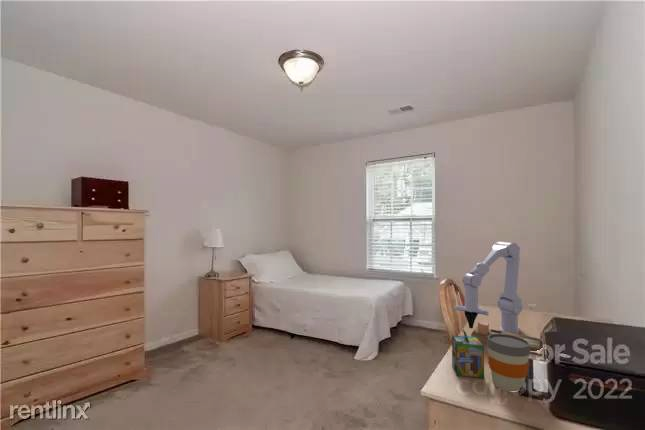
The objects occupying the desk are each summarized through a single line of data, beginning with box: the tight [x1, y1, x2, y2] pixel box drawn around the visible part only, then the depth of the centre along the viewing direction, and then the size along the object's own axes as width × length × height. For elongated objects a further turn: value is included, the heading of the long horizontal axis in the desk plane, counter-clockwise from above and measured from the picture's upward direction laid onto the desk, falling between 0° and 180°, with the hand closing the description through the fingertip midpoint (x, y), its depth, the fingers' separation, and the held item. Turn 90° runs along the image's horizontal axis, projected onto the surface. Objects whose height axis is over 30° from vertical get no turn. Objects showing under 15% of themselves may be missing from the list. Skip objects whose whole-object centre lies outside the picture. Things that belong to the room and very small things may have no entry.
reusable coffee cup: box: [486, 334, 531, 392], centre depth 106 cm, size 13×13×15 cm
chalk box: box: [451, 328, 485, 379], centre depth 116 cm, size 9×9×15 cm
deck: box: [470, 325, 544, 351], centre depth 143 cm, size 13×27×6 cm, turn 54°
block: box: [477, 320, 490, 334], centre depth 149 cm, size 4×4×4 cm
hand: (471, 327), depth 152 cm, fingers closed
